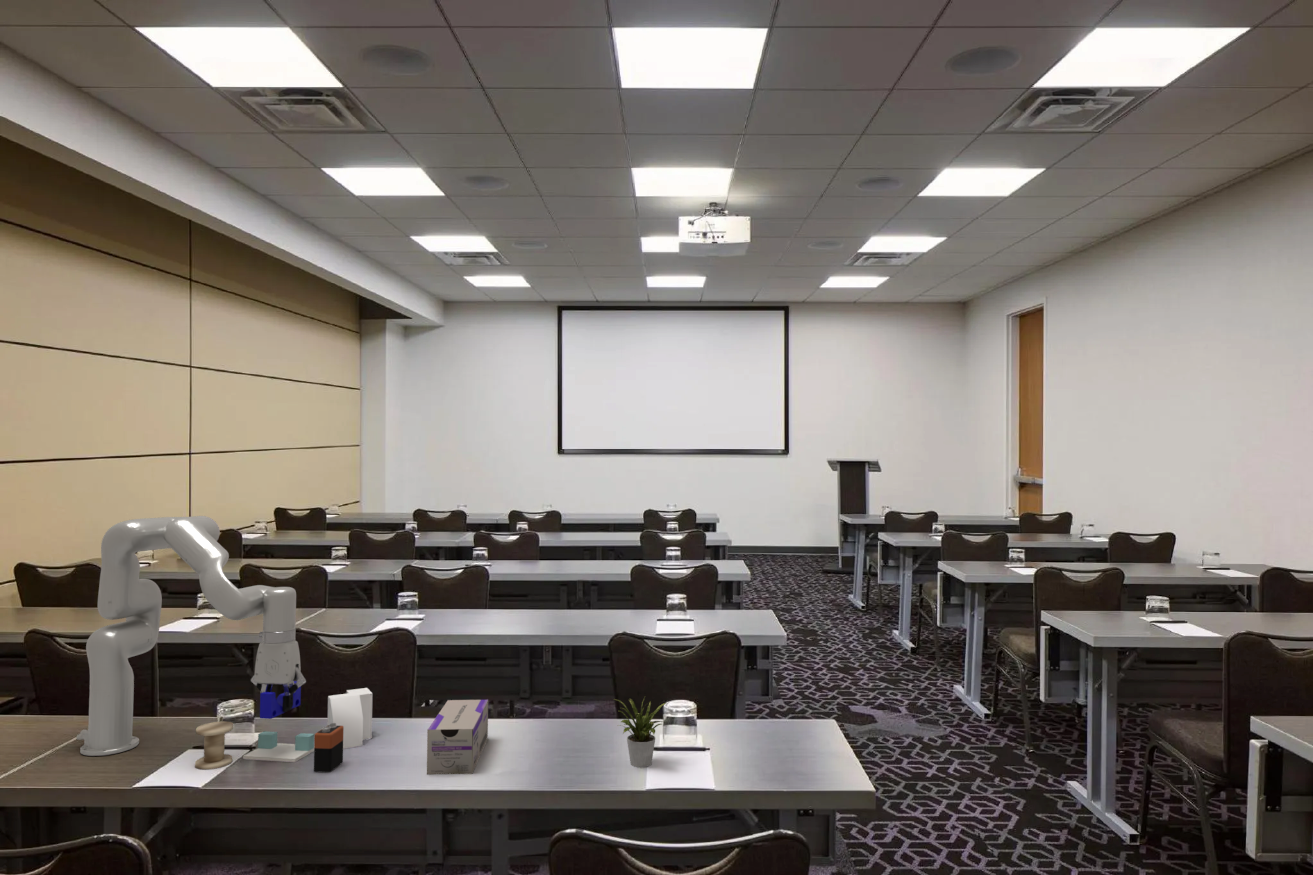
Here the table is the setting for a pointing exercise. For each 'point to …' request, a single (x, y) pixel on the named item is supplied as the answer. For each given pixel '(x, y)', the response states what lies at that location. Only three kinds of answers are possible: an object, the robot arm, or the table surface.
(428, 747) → the surgical sutures box
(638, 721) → the house plant
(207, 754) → the bobbin
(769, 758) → the table surface
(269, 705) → the blue cradle bracket
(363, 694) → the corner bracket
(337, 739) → the battery
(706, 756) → the table surface
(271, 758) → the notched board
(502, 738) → the table surface
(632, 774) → the table surface
